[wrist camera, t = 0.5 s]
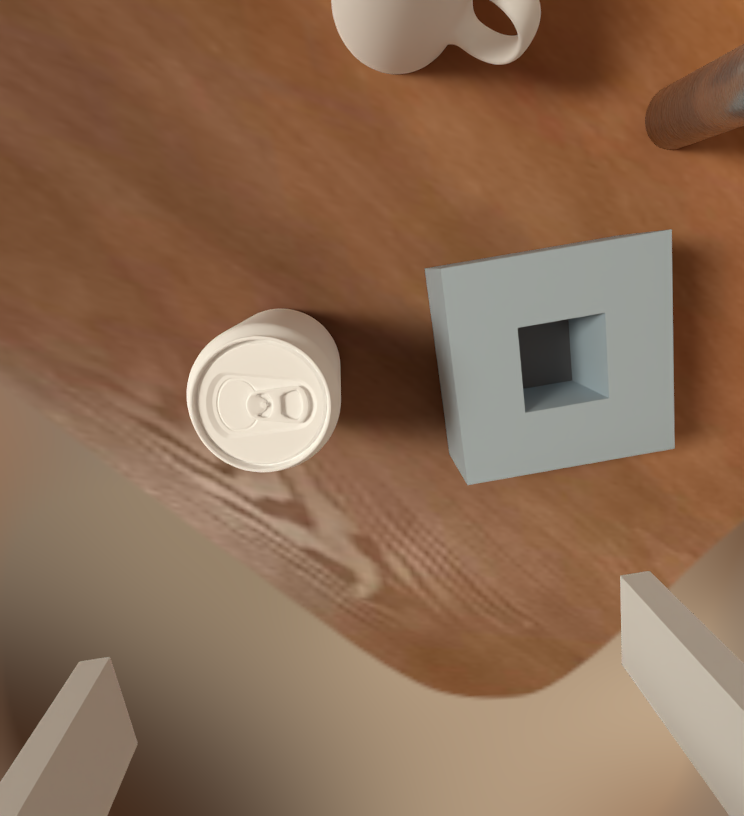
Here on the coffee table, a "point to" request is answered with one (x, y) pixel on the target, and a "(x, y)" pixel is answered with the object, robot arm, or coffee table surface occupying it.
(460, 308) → the socket block
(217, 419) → the beverage can
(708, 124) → the peg
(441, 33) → the mug
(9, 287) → the coffee table surface
